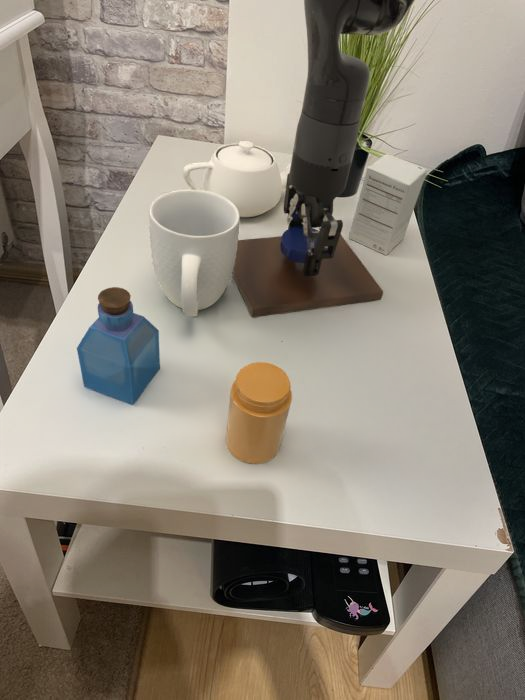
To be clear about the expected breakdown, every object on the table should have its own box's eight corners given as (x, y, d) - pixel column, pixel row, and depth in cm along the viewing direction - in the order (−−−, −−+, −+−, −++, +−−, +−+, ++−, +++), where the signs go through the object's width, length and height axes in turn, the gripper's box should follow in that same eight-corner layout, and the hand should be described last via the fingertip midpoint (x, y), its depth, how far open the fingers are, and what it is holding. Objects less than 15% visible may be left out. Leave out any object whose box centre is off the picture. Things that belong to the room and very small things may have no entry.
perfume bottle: (84, 386, 59) (68, 305, 50) (113, 351, 63) (104, 271, 55) (133, 405, 58) (125, 325, 49) (159, 368, 62) (157, 289, 54)
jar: (270, 413, 59) (282, 354, 53) (288, 457, 55) (304, 399, 49) (219, 423, 57) (224, 363, 51) (234, 469, 54) (242, 411, 47)
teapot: (192, 229, 84) (193, 165, 76) (173, 187, 93) (173, 126, 85) (316, 219, 91) (329, 159, 83) (288, 180, 99) (297, 123, 92)
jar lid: (324, 238, 78) (326, 227, 77) (327, 265, 73) (329, 253, 72) (280, 235, 78) (281, 224, 76) (280, 262, 73) (281, 250, 72)
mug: (232, 345, 66) (241, 260, 57) (144, 340, 65) (138, 252, 56) (232, 273, 77) (240, 192, 68) (156, 268, 76) (153, 184, 66)
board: (336, 238, 87) (338, 230, 86) (381, 299, 77) (384, 291, 76) (220, 249, 81) (220, 241, 80) (251, 317, 70) (253, 309, 69)
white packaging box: (366, 221, 92) (386, 152, 83) (404, 238, 89) (429, 168, 81) (346, 238, 87) (366, 166, 78) (386, 256, 85) (410, 184, 76)
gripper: (276, 126, 69) (261, 235, 80) (318, 179, 59) (295, 293, 71) (327, 125, 71) (306, 231, 83) (376, 176, 62) (344, 287, 73)
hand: (301, 259), depth 77 cm, fingers closed on jar lid, 6 cm apart
